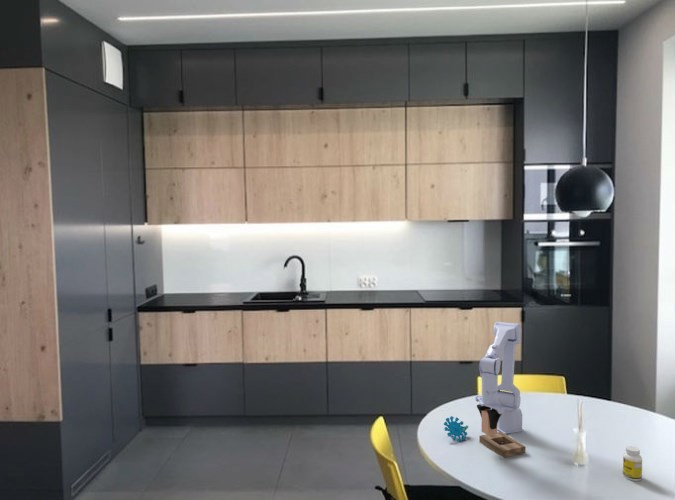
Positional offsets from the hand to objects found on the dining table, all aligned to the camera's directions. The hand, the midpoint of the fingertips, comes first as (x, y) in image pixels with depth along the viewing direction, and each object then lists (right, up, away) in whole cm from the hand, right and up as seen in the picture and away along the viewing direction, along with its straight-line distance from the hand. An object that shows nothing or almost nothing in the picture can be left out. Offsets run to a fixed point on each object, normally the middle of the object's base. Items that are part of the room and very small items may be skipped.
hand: (489, 426), depth 187 cm
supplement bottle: (+41, -10, -20) cm, 47 cm away
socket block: (+6, -9, +3) cm, 11 cm away
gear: (-9, -9, +12) cm, 18 cm away
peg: (0, -2, 0) cm, 2 cm away
